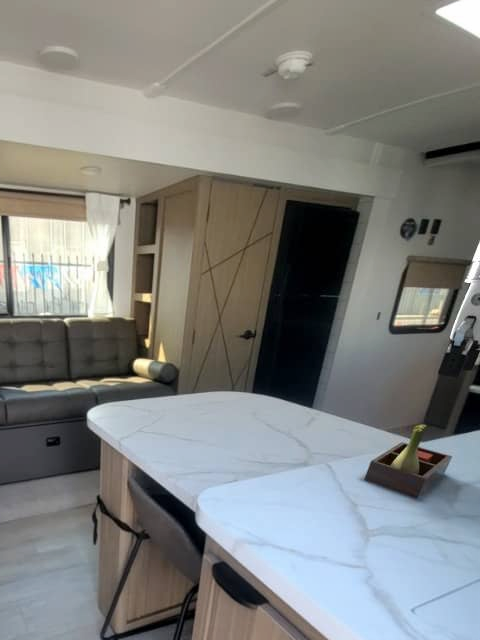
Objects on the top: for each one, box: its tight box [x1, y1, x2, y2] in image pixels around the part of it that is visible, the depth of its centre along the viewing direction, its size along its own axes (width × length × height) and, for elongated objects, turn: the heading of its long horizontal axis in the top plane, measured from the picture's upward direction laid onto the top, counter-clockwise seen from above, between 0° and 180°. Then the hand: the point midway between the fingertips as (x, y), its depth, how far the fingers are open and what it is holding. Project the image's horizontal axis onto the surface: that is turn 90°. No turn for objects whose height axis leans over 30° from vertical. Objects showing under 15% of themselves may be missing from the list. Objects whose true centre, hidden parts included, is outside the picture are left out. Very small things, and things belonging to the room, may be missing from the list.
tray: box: [363, 441, 453, 500], centre depth 87 cm, size 18×10×4 cm, turn 129°
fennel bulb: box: [391, 424, 427, 475], centre depth 82 cm, size 6×5×12 cm
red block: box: [417, 450, 433, 463], centre depth 89 cm, size 4×4×4 cm
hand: (455, 372), depth 78 cm, fingers open, 9 cm apart
